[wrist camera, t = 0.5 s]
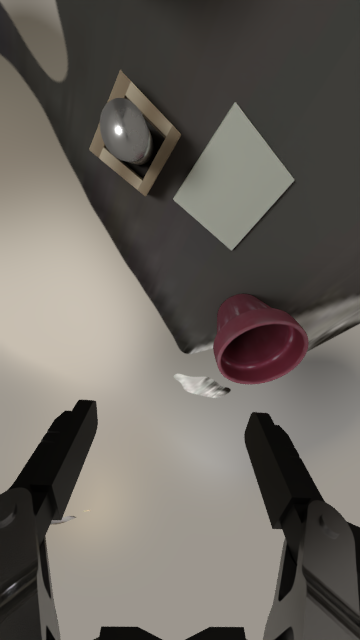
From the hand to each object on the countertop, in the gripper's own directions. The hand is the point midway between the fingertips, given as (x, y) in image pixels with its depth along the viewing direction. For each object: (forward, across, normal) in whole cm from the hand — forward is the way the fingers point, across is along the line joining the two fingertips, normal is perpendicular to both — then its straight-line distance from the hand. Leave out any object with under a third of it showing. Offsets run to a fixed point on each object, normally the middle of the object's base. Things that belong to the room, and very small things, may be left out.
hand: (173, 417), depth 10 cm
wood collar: (+25, +7, -18) cm, 31 cm away
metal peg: (+25, +7, -18) cm, 32 cm away
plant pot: (+31, -14, +5) cm, 34 cm away
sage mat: (+26, -6, -15) cm, 31 cm away
